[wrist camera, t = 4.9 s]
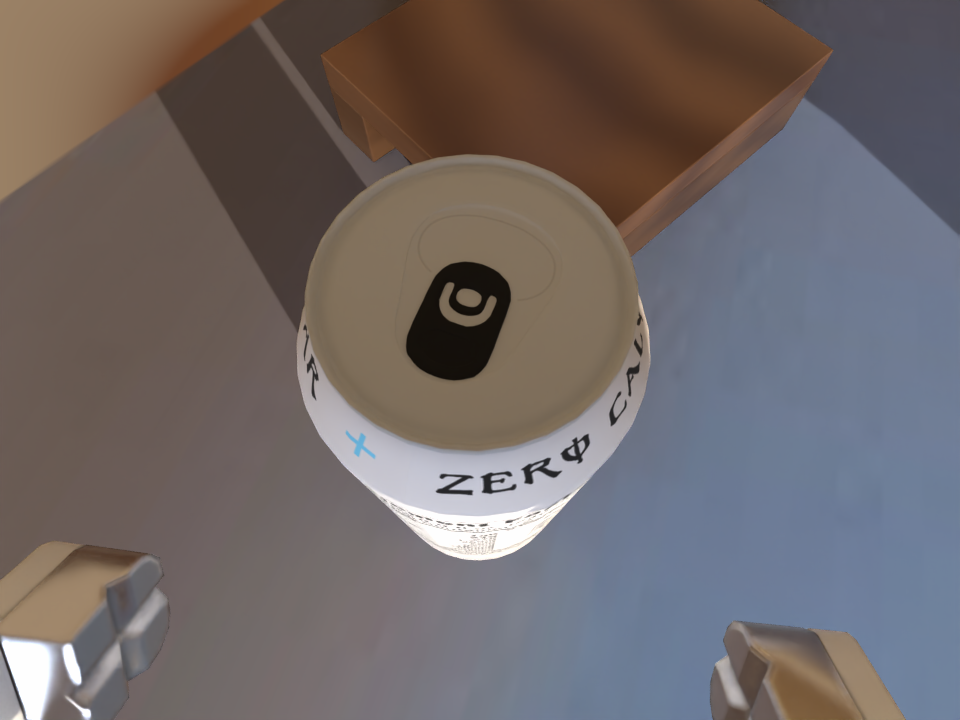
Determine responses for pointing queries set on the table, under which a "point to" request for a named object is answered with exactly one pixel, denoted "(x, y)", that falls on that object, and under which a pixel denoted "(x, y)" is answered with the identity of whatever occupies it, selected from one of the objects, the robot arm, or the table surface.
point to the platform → (580, 92)
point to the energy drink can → (473, 347)
